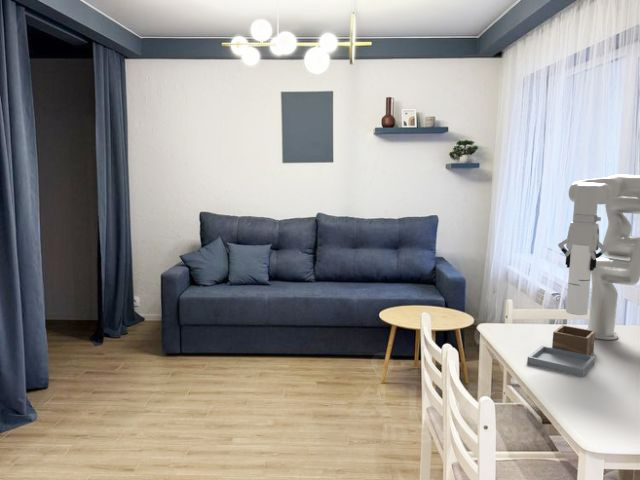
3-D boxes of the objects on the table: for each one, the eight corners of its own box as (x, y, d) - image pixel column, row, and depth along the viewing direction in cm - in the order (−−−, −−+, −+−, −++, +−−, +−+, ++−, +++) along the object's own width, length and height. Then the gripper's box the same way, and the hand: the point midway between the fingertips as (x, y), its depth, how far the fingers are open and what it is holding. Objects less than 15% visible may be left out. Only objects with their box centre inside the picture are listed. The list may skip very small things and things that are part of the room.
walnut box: (560, 345, 222) (562, 325, 221) (593, 352, 215) (595, 331, 214) (551, 353, 213) (553, 331, 211) (585, 360, 206) (587, 338, 204)
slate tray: (541, 352, 214) (542, 345, 213) (594, 363, 203) (595, 356, 202) (527, 363, 201) (527, 356, 201) (582, 376, 190) (583, 369, 190)
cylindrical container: (589, 315, 208) (595, 246, 204) (568, 314, 209) (573, 245, 205) (584, 310, 214) (590, 243, 211) (563, 309, 216) (569, 242, 212)
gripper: (613, 220, 204) (609, 270, 207) (561, 216, 215) (558, 263, 217) (608, 222, 198) (604, 273, 201) (555, 218, 209) (552, 266, 212)
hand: (580, 268), depth 209 cm, fingers closed on cylindrical container, 7 cm apart
